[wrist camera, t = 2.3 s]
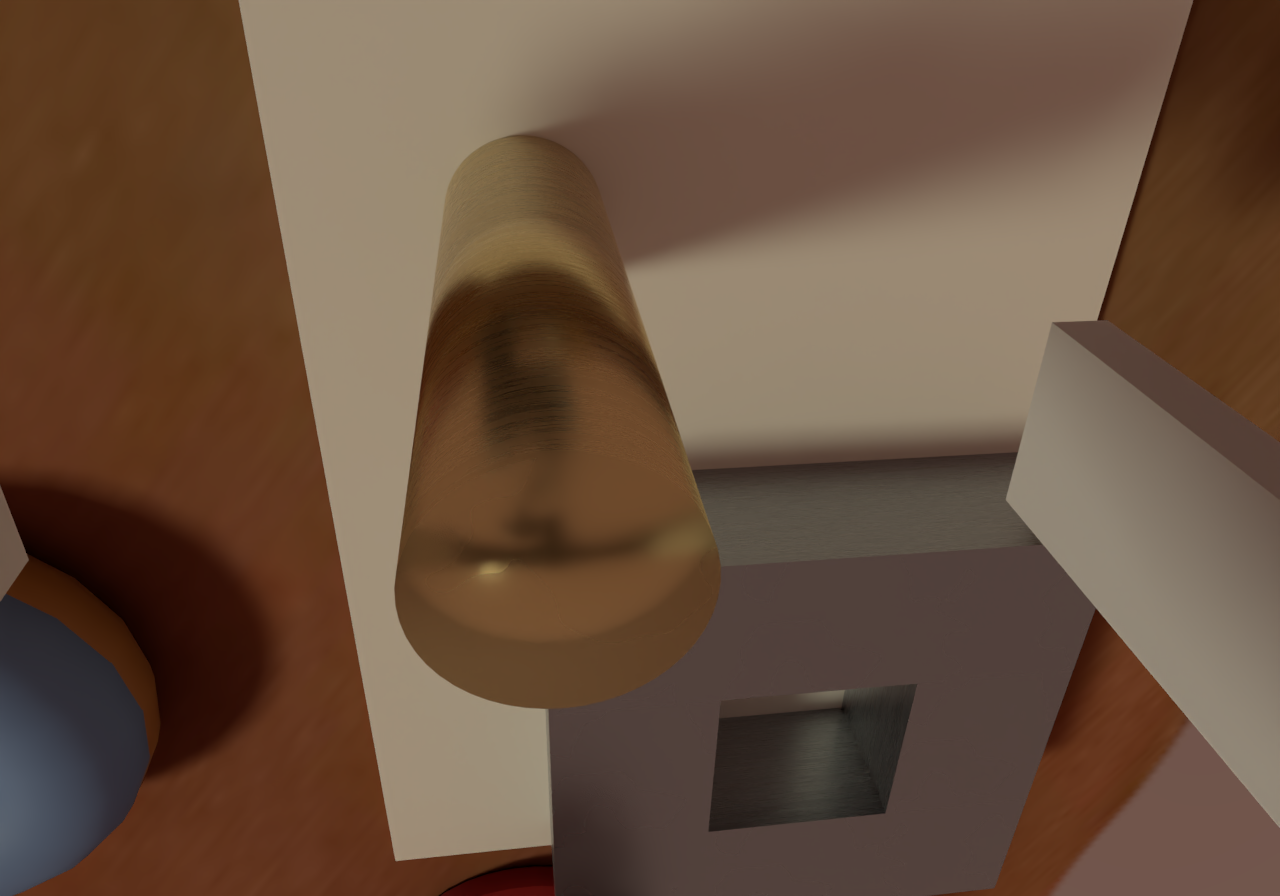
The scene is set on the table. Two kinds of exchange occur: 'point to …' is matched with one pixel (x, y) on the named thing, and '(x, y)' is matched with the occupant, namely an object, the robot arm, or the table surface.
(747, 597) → the square hole block
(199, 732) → the table surface
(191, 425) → the table surface
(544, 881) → the canned food
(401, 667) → the mat
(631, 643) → the pin
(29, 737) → the doughnut
